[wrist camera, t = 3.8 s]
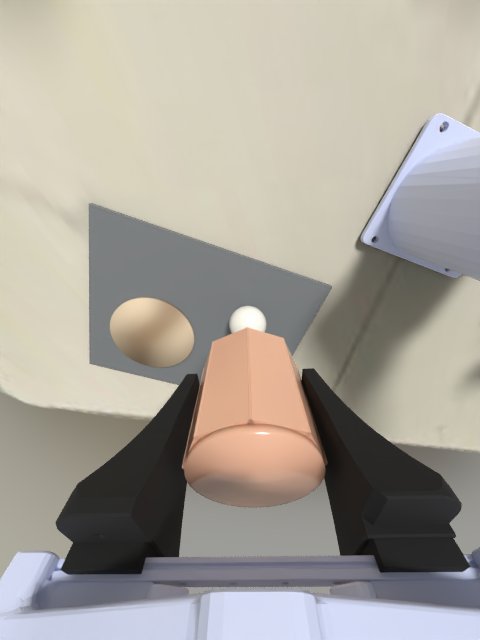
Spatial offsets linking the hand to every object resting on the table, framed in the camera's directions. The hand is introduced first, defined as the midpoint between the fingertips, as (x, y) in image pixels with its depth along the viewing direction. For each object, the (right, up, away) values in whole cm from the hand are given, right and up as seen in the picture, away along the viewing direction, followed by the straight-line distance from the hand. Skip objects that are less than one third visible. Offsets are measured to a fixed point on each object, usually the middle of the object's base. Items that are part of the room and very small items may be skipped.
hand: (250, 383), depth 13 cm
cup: (0, +1, +1) cm, 2 cm away
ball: (0, +3, +6) cm, 7 cm away
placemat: (-5, +3, +9) cm, 10 cm away
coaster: (-9, +2, +9) cm, 13 cm away
